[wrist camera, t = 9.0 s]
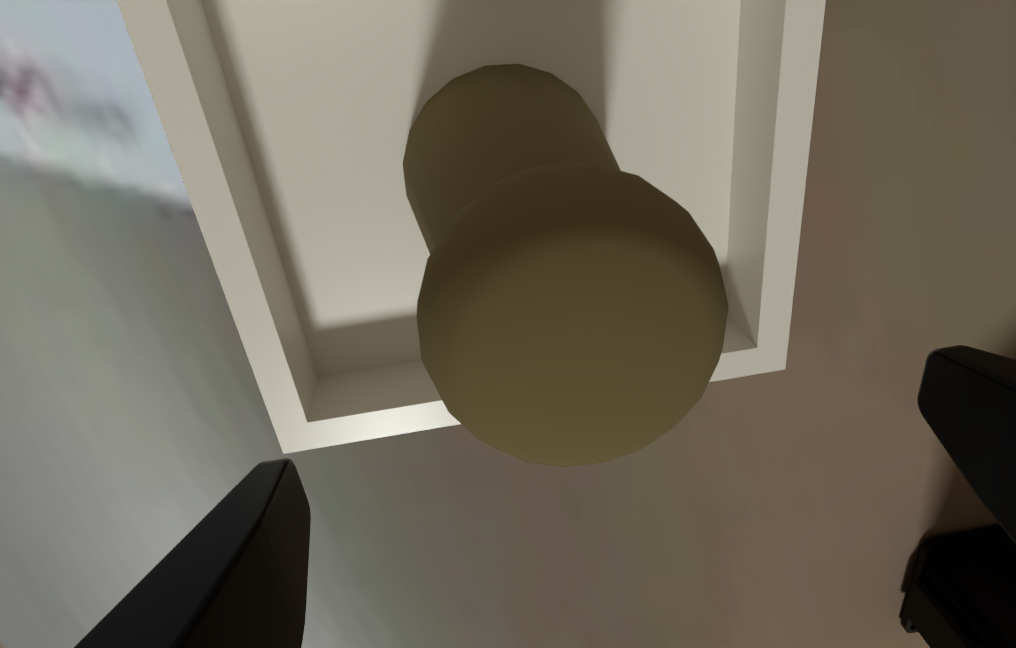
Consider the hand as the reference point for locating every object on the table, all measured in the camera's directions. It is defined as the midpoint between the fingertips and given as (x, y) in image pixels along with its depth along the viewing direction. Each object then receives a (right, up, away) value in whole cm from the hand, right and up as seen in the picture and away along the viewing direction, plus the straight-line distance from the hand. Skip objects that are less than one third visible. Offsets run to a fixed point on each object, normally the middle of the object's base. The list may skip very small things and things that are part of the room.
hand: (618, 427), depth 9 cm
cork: (-2, +6, +10) cm, 12 cm away
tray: (-2, +6, +11) cm, 13 cm away
